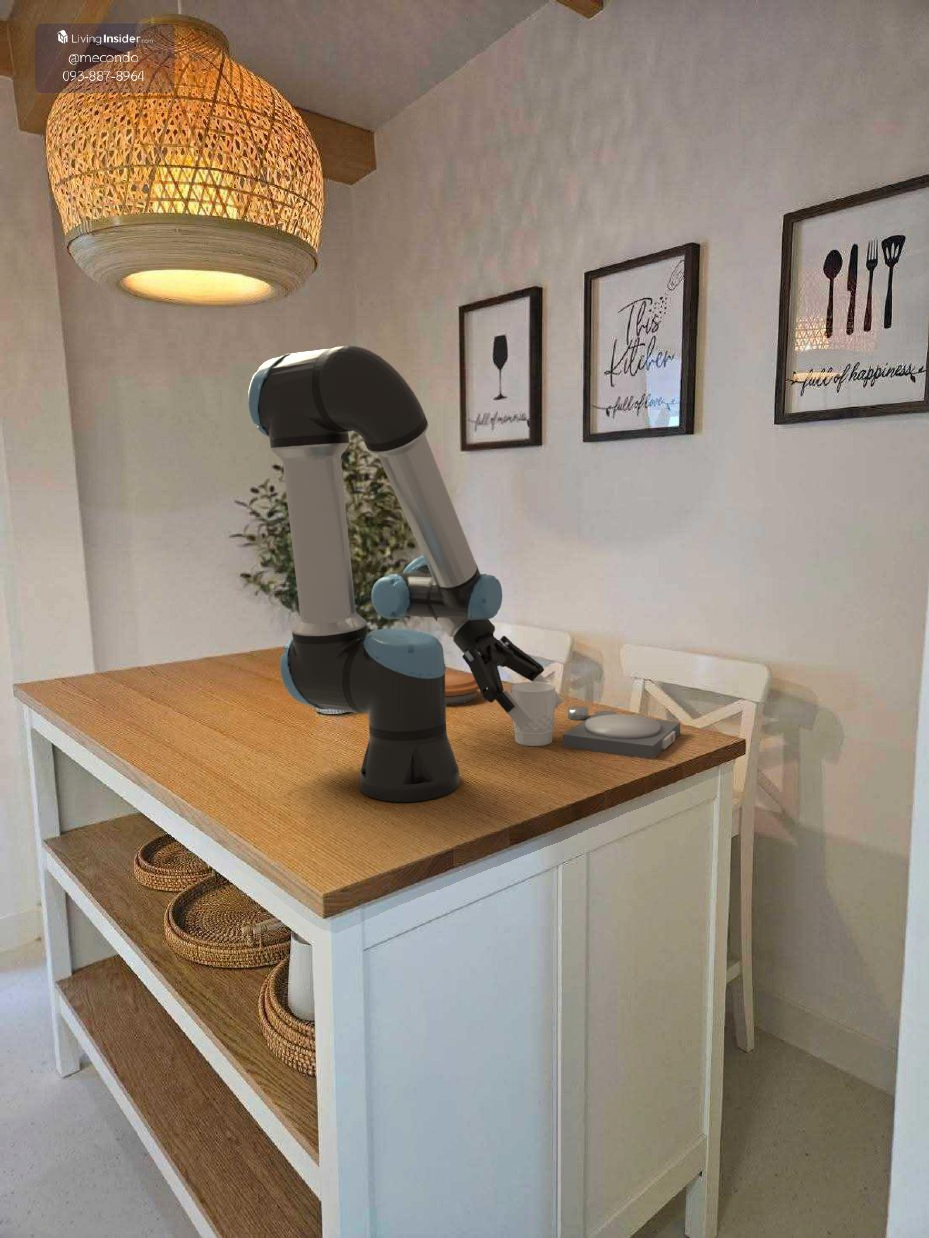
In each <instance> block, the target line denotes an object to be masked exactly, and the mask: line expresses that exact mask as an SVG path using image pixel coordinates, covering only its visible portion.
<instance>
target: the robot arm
mask: <svg viewBox="0 0 929 1238" xmlns="http://www.w3.org/2000/svg"><path fill="white" fill-rule="evenodd" d="M247 401H248V402H247V403H248V410H249V411H248V412H249V415H250V418H251V420H252V422H253V424H255V425H257V430H258V431H259V432H260V433H261V434H263V435H265V437H268V439H269V445H270V451H271V452H272V453H274V454H275V455H276V456H277V457H278V458H279V459H280V460H281V461H282V466H283V475H284V484H285V493H286V494H285V495H286V501H287V510H288V512H287V513H288V519H289V520H288V521H289V529H290V535H291V538H290V539H291V545H292V554H293V564H294V565H293V566H294V571H295V572H294V573H295V574H294V575H295V580H296V581H295V582H296V590H297V591H296V592H297V597H298V598H297V599H298V607H299V608H298V609H299V616H300V617H299V619H298V621H297V622H296V623H295V624H294V625H293V626H292V627H291V638H290V639H289V640H288V641H286V643H285V645H284V648H283V651H284V653H282V654H280V655H281V656H280V665H279V667H280V668H279V669H280V670H279V671H280V674H281V675H280V677H281V680H282V683H283V686H284V687H285V689H286V690H287V693H288V694H289V695H290V696H291V697H292V698H293V699H294V700H296V701H297V702H299V704H300V703H301V704H303V705H305V706H310V707H313V708H315V709H318V710H333V711H341V712H342V711H343V712H349V713H357V714H365V715H367V716H368V731H369V733H368V734H369V738H368V741H367V742H368V743H367V747H366V750H365V753H364V756H363V760H362V765H361V768H360V771H359V790H360V791H361V792H362V793H363V795H366V796H367V797H369V798H372V799H376V800H379V801H385V802H395V803H396V802H397V803H412V802H421V801H428V800H429V801H430V800H433V799H438V798H441V797H444V796H446V795H449V794H451V793H452V792H455V790H457V789H458V787H459V786H460V768H459V765H458V763H457V760H456V757H455V755H454V751H453V747H452V745H451V743H450V740H449V737H448V733H447V709H446V708H447V707H446V706H447V705H446V697H445V674H446V672H447V671H446V670H447V667H446V663H445V655H444V647H443V645H442V643H441V642H440V641H439V639H438V638H437V637H435V636H434V635H431V634H428V633H426V632H423V631H418V630H411V629H406V628H405V629H403V628H401V629H397V628H380V629H375V630H371V631H369V632H368V623H367V620H366V619H365V618H363V617H362V616H361V615H359V614H358V613H357V610H356V600H355V591H354V581H353V570H352V560H351V550H350V540H349V530H348V529H349V528H348V521H347V511H346V499H345V498H346V497H345V490H344V479H343V469H342V461H341V458H342V455H343V454H344V452H345V451H346V450H347V449H348V447H349V446H350V437H349V432H355V433H357V434H358V435H359V436H360V437H361V438H362V440H363V443H364V445H365V447H366V449H367V450H368V452H369V453H373V454H375V455H377V457H378V458H379V461H380V463H381V465H382V467H383V470H384V472H385V474H386V476H387V478H388V481H389V483H390V486H391V488H392V489H393V492H394V494H395V497H396V499H397V501H398V503H399V506H400V508H401V510H402V512H403V514H404V516H405V519H406V521H407V523H408V526H409V528H410V530H411V532H412V534H413V537H414V538H415V541H416V544H417V545H418V547H419V550H420V553H421V554H422V555H421V556H420V557H417V558H415V559H413V560H412V561H411V562H410V563H408V565H407V566H406V567H405V568H404V570H403V572H400V573H391V574H389V575H386V576H383V577H380V578H378V580H377V581H376V582H374V585H373V587H372V589H371V596H370V597H371V603H372V606H373V608H374V610H375V612H376V613H377V614H378V615H379V616H381V617H382V618H384V619H388V620H394V619H402V618H403V617H420V618H421V617H423V618H434V620H435V621H436V622H437V623H438V624H439V626H440V627H441V629H442V631H444V632H446V634H447V635H448V636H449V637H450V638H452V639H453V640H452V641H453V642H454V644H455V645H456V646H457V647H458V648H459V650H460V651H461V652H462V653H463V655H462V656H461V657H462V659H463V660H464V661H465V663H466V664H467V665H468V667H469V670H470V672H471V674H472V676H473V677H474V678H475V681H476V683H477V685H478V687H479V689H478V690H479V691H480V694H481V697H483V698H484V700H487V701H488V702H489V703H491V704H492V703H494V702H495V701H496V702H497V703H498V704H499V705H500V707H501V708H502V709H503V710H504V711H505V712H506V713H507V715H508V716H509V717H510V718H511V719H512V722H513V721H514V722H515V723H516V724H517V725H518V727H519V728H520V729H521V728H523V727H524V726H525V725H526V724H527V723H528V722H529V721H530V720H531V719H532V717H531V716H530V715H529V714H528V713H527V711H526V710H525V709H524V708H523V707H522V705H521V704H520V703H519V702H518V701H517V700H516V698H515V697H514V696H513V695H512V694H511V690H509V689H508V688H507V689H504V686H503V682H502V678H501V675H500V671H499V667H502V668H505V667H506V668H507V669H510V670H511V671H513V672H515V673H516V674H518V675H520V676H522V677H523V678H525V679H527V680H529V682H546V683H549V681H548V680H547V679H546V678H545V677H544V675H543V674H542V673H544V671H545V668H544V667H543V665H542V664H541V663H539V662H538V661H537V660H535V659H534V658H533V657H531V656H530V655H529V654H527V653H526V652H525V651H523V650H522V649H521V648H519V647H518V646H517V645H516V644H514V643H513V642H512V641H511V640H510V639H509V638H508V637H507V636H506V635H502V637H501V638H500V639H497V637H496V636H494V633H495V631H496V626H495V625H494V624H493V622H491V619H493V618H495V616H496V615H498V612H499V611H500V609H501V607H502V602H503V587H502V585H501V583H500V580H499V579H498V578H496V576H494V575H491V574H487V573H483V574H482V573H481V572H480V570H479V567H478V565H477V563H476V560H475V558H474V555H473V552H472V549H471V547H470V545H469V542H468V541H467V537H466V535H465V532H464V530H463V527H462V524H461V522H460V520H459V518H458V515H457V512H456V509H455V507H454V504H453V502H452V499H451V497H450V495H449V492H448V489H447V486H446V485H445V481H444V479H443V476H442V474H441V472H440V469H439V467H438V464H437V461H436V459H435V456H434V454H433V452H432V448H431V446H430V444H429V441H428V439H427V435H426V432H427V430H428V429H429V422H428V419H427V417H426V414H425V412H424V409H423V408H422V405H421V402H420V401H419V399H418V397H417V395H416V394H415V392H414V391H413V389H412V388H411V387H410V385H409V384H408V382H407V381H406V379H405V378H404V377H403V376H402V375H401V373H399V372H398V371H397V370H396V368H394V366H392V365H391V363H389V362H388V361H386V360H385V359H384V358H382V356H380V355H378V354H377V353H375V352H373V351H371V350H369V349H367V348H364V347H360V346H357V345H341V346H340V345H339V346H336V347H335V346H334V347H333V348H332V347H331V348H325V349H318V350H317V349H316V350H308V351H300V352H295V353H294V352H292V353H285V354H284V355H281V356H278V357H274V358H270V359H268V360H266V361H265V362H263V363H262V364H261V365H260V366H259V367H258V369H257V371H256V372H254V374H253V375H252V378H251V380H250V384H249V388H248V396H247ZM564 701H565V700H564V698H563V697H562V696H561V695H560V694H559V693H558V692H557V691H556V690H555V709H557V708H558V706H559V705H560V704H562V703H563V702H564Z"/></svg>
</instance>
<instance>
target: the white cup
mask: <svg viewBox="0 0 929 1238" xmlns="http://www.w3.org/2000/svg"><path fill="white" fill-rule="evenodd" d="M555 691H556V684H553V683H550V682H548V683H546V682H532V681H523V682H517V683H514V684H512V685H510V693H511V694H512V695H513V696H514V697H515V698H516V700H517V701H518V702H519V703H520V704H521V705H522V707H523V708H524V709H525V710H526V711H527V713H528V714H529V715H530V716H531V717H532V719H531V720H530V721H529V722H528V723H527V724H526V725H525V726H524V727H523V728H521V729H520V728H519V727H518V725H517V724H516V723H515V722H514V721H513V720H512V722H513V723H512V724H513V728H514V729H513V731H514V742H515V743H516V744H518V745H521V746H525V747H542V746H547V745H549V744H551V743H553V741H554V727H555V713H556V712H555V711H556V708H555Z"/></svg>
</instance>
